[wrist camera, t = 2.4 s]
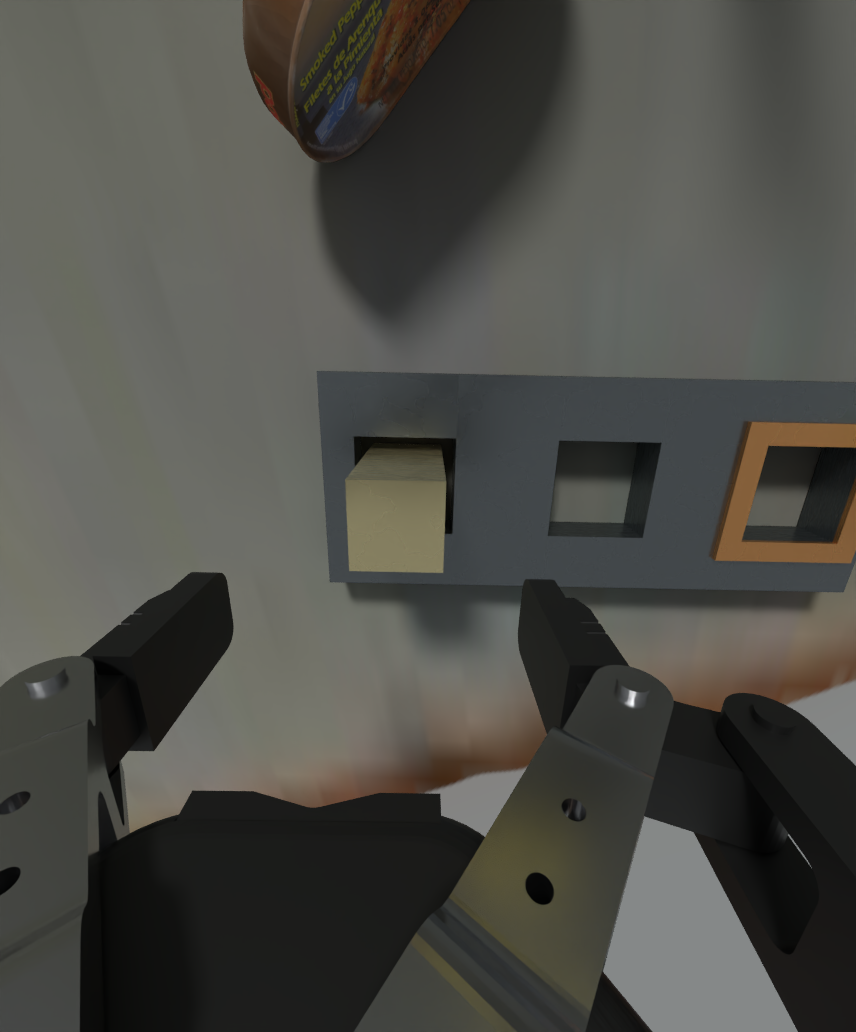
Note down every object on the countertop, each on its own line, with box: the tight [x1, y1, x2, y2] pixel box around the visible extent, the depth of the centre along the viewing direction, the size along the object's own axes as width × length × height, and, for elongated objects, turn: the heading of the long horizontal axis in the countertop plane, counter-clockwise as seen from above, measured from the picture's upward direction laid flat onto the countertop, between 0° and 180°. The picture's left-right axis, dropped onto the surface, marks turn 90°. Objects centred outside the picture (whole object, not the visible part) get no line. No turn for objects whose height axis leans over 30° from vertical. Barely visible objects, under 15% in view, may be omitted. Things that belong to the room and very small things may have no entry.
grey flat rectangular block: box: [317, 371, 856, 592], centre depth 24 cm, size 31×12×3 cm, turn 89°
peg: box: [345, 443, 446, 573], centre depth 22 cm, size 4×4×9 cm
